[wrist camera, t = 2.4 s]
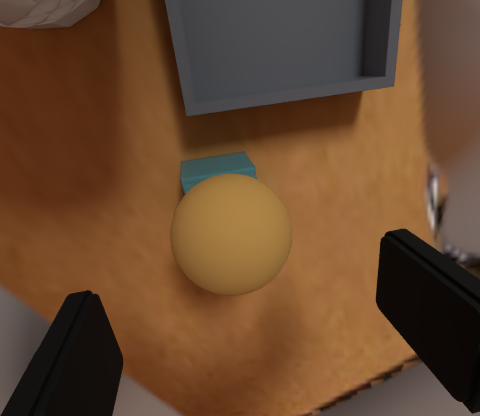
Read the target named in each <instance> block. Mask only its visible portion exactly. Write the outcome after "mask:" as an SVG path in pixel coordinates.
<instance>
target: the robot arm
mask: <svg viewBox="0 0 480 416" xmlns="http://www.w3.org/2000/svg"><path fill="white" fill-rule="evenodd" d="M376 303H377V306H378V308H379V310H380V311H381V312H382V313H383V314H384V316H385V317H386V318H387V319H388V320H389V322H390V323H391V324H392V325H393V326H394V328H395V329H396V330H397V331H398V332H399V334H400V335H401V336H402V337H403V338H404V339H405V341H406V342H407V343H408V344H409V345H410V347H411V348H412V349H413V350H414V351H415V353H416V354H417V355H418V356H419V357H420V359H421V360H422V361H423V362H424V363H425V365H426V366H427V367H428V368H429V369H430V370H431V372H432V373H433V374H434V375H435V376H436V378H437V379H438V380H439V381H440V382H441V384H442V385H443V386H444V387H445V388H446V389H447V391H448V392H449V393H450V394H451V396H452V397H454V399H456V400H457V401H459V402H463V404H464V405H465V406H466V407H467V408H468V410H469V411H470V412H471V413H476V412H480V279H479V278H477V277H476V276H474V275H473V274H471V273H470V272H468V271H467V270H465V269H464V268H462V267H461V266H459V265H458V264H457V263H455V262H454V261H452V260H451V259H449V258H448V257H446V256H445V255H443V254H442V253H440V252H439V251H437V250H436V249H435V248H433V247H432V246H430V245H429V244H427V243H426V242H424V241H423V240H421V239H420V238H418V237H417V236H416V235H414V234H413V233H411V232H410V231H408V230H406V229H399V230H394V231H388V232H386V234H385V236H384V237H382V238H381V242H380V254H379V266H378V278H377V290H376ZM122 369H123V356H122V353H121V350H120V348H119V345H118V343H117V340H116V338H115V335H114V333H113V330H112V328H111V325H110V323H109V320H108V318H107V315H106V312H105V310H104V307H103V305H102V302H101V300H100V297H99V295H98V294H93V293H92V292H91V291H89V290H87V291H82V292H77V293H72V294H69V295H68V296H67V297H66V299H65V301H64V303H63V305H62V306H61V308H60V310H59V312H58V314H57V315H56V317H55V319H54V321H53V323H52V325H51V326H50V328H49V330H48V332H47V334H46V336H45V337H44V339H43V341H42V343H41V345H40V347H39V348H38V350H37V351H36V353H35V354H34V356H33V358H32V360H31V362H30V363H29V365H28V367H27V369H26V371H25V372H24V374H23V376H22V378H21V380H20V382H19V383H18V385H17V387H16V389H15V391H14V392H13V394H12V396H11V398H10V400H9V401H8V403H7V405H6V407H5V409H4V410H3V412H2V414H1V416H112V414H113V410H114V405H115V400H116V396H117V391H118V386H119V382H120V378H121V373H122Z"/></svg>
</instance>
